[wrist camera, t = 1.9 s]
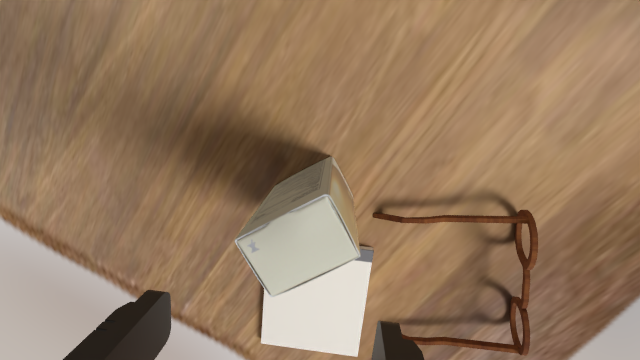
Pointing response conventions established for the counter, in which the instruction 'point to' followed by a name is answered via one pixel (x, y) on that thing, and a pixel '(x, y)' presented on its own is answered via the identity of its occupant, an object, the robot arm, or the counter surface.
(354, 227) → the skincare box
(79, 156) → the counter surface
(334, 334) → the board
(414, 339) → the glasses
